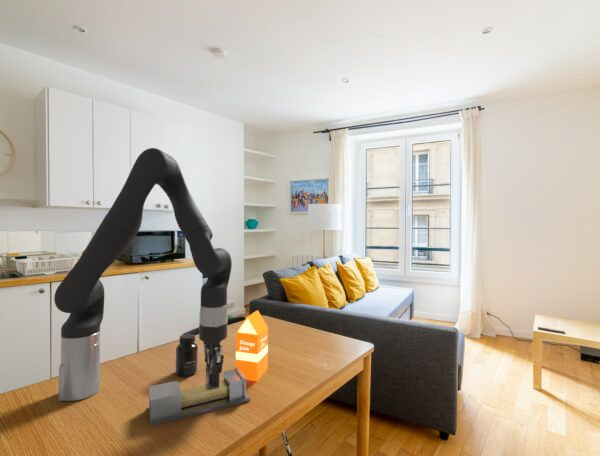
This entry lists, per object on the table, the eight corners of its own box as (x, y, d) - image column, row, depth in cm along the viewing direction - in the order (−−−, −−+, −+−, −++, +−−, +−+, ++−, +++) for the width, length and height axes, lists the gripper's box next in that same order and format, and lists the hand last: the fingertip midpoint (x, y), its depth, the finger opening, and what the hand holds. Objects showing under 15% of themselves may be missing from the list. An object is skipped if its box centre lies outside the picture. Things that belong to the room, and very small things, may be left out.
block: (170, 410, 82) (170, 375, 82) (168, 403, 85) (169, 369, 85) (231, 395, 89) (232, 363, 89) (228, 389, 93) (228, 358, 93)
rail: (150, 426, 77) (151, 399, 77) (148, 407, 85) (149, 383, 85) (249, 401, 89) (250, 378, 89) (240, 386, 97) (240, 365, 97)
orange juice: (267, 369, 109) (268, 310, 109) (257, 381, 100) (258, 317, 100) (246, 366, 111) (247, 308, 111) (234, 378, 102) (235, 315, 102)
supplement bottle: (190, 378, 101) (190, 340, 101) (171, 376, 103) (171, 339, 103) (201, 369, 108) (201, 333, 108) (183, 366, 110) (183, 332, 109)
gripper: (194, 316, 93) (194, 375, 93) (204, 330, 80) (203, 399, 81) (220, 313, 96) (219, 370, 97) (234, 326, 84) (233, 392, 84)
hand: (212, 383), depth 89 cm, fingers closed on block, 3 cm apart
